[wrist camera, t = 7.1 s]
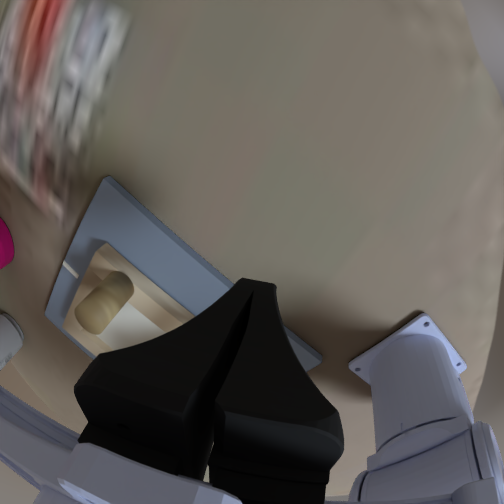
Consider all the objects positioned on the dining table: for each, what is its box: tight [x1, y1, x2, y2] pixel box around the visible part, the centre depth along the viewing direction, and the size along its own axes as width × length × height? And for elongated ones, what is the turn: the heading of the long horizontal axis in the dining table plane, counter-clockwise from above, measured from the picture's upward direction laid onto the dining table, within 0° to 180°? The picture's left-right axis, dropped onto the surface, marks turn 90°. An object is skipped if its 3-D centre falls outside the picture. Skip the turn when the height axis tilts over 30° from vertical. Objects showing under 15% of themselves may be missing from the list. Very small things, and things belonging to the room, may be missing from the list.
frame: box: [62, 243, 195, 357], centre depth 24 cm, size 16×12×6 cm
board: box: [44, 176, 322, 372], centre depth 27 cm, size 22×20×1 cm
